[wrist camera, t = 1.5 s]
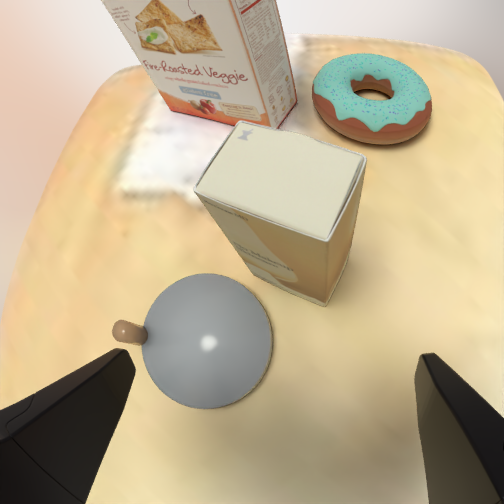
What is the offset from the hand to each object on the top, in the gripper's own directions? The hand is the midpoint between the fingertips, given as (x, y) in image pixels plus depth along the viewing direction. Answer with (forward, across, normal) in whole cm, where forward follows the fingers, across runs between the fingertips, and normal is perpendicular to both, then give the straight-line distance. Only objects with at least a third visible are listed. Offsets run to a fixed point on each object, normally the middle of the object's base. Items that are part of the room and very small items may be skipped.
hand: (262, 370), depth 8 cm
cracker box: (+28, +7, -9) cm, 30 cm away
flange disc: (+11, +7, +8) cm, 15 cm away
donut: (+26, -8, -7) cm, 29 cm away
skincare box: (+15, 0, +4) cm, 15 cm away
